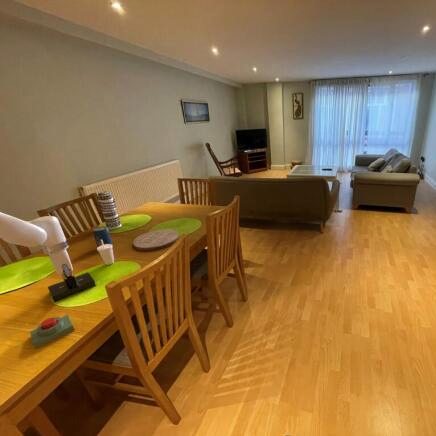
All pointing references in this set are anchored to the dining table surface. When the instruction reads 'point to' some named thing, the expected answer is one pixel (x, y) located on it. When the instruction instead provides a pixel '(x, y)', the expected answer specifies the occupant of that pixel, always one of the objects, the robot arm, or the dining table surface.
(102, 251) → the smoothie
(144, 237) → the trivet
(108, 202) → the grey ringed cylinder
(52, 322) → the power button
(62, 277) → the hob knob
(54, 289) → the hob panel
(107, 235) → the soda can
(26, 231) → the robot arm
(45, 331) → the push button box
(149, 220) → the dining table surface
